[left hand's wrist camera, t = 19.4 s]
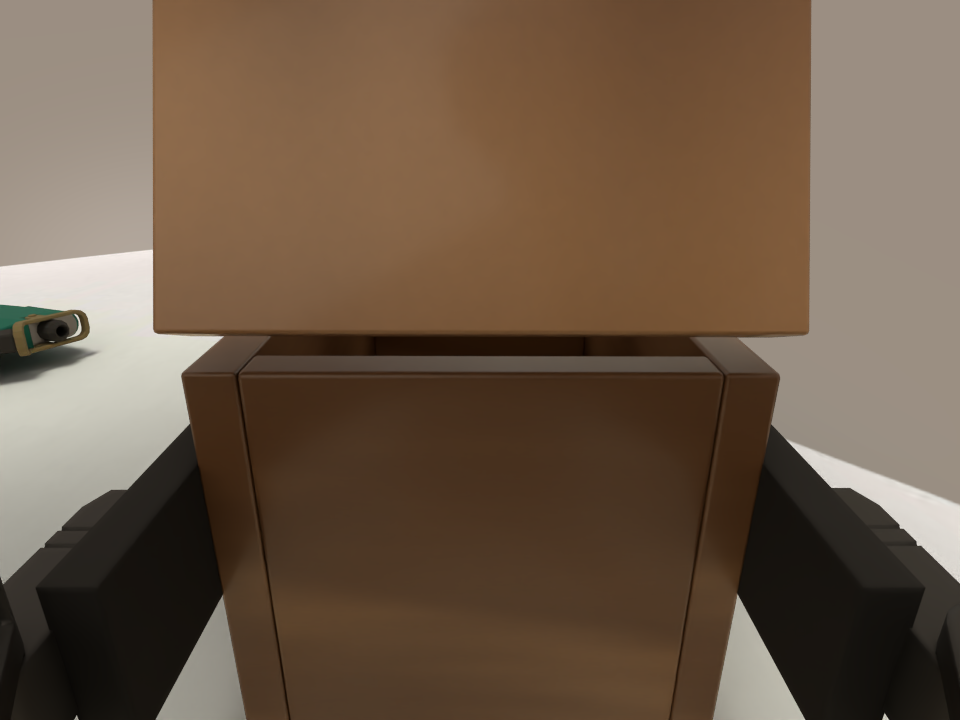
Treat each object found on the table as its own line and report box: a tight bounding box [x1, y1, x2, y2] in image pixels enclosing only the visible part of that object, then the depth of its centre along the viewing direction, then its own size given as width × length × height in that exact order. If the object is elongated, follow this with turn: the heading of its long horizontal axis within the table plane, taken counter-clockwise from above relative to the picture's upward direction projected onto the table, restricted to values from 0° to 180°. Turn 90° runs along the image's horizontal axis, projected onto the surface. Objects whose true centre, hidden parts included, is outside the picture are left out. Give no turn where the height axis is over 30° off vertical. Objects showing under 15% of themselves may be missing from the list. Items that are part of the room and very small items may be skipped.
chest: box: [181, 336, 780, 720], centre depth 17 cm, size 13×9×10 cm
